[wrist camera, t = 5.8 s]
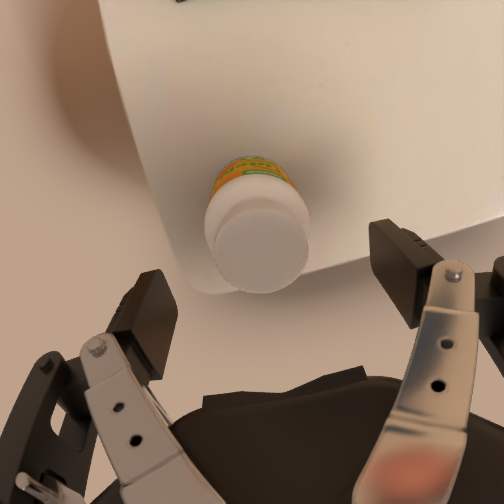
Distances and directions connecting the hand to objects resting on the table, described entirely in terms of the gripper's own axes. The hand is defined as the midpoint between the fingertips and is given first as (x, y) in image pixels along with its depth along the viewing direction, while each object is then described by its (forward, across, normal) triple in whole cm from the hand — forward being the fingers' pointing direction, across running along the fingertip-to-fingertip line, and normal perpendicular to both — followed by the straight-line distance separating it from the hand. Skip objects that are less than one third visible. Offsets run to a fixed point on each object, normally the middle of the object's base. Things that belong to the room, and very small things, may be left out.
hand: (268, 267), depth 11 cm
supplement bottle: (+11, 0, 0) cm, 11 cm away
